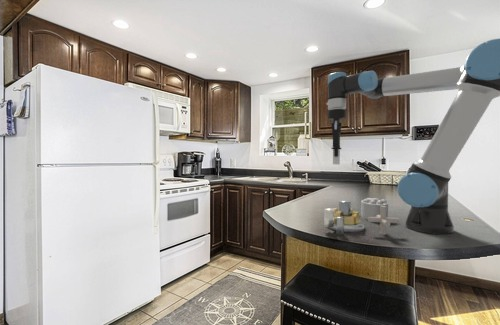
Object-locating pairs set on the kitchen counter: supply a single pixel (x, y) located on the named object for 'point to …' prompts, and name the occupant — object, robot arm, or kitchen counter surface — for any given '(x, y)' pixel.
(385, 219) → the pipe connector
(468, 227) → the kitchen counter surface
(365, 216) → the lumpy-topped squat cylinder
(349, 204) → the cap flange
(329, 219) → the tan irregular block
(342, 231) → the stop pin
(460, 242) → the kitchen counter surface
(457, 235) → the kitchen counter surface
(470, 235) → the kitchen counter surface
